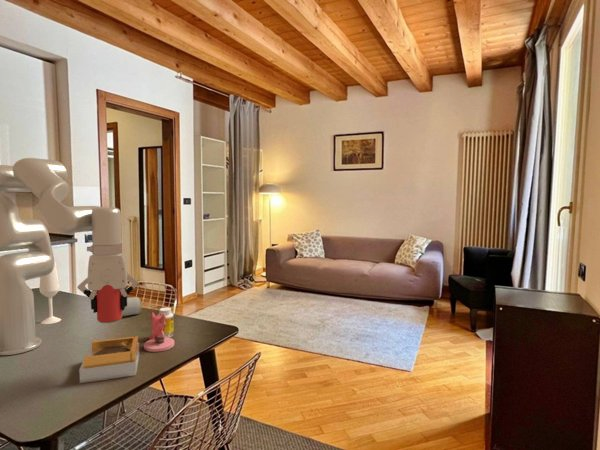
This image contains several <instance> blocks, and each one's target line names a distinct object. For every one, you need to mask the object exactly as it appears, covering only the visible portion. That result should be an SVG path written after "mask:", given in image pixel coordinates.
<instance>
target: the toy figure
mask: <svg viewBox="0 0 600 450" xmlns="http://www.w3.org/2000/svg"><path fill="white" fill-rule="evenodd" d="M158 314H159V313H158ZM161 315H162V314H159V316H157V315H156V314H155V313H154V311H153V310H152V311H151V314H150V321H151V326H152V327H151V333H152V335H149V336H148V338H149V340H147V341H146V342H144V344H143V349H144V350H145V351H146V352H150V353H151V352H152V353H157V352H158V353H159V352H164V351H168V350H171V349H172V348H173V347H174V346H175V340H174V339H173V338H172V337H170V338H168V337H166V336H164V332H163V331H164V329H165V323H166V322H165V318H166V317H165V315H164V313H163V315H162V316H161ZM162 328H163V331H162Z"/></svg>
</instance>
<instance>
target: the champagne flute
mask: <svg viewBox="0 0 600 450" xmlns="http://www.w3.org/2000/svg"><path fill="white" fill-rule="evenodd" d="M60 286H61V285H60V280H59V274H58V267H57V262H56V260H54V269H53V271H52V272H51V273H50V274H49V275H46V276H43V277H39V292H40V294H41V295H43V296H44V297H46V298H48V317H46V318H45V319H43V320H42V321H41V322H40V324H42V325H50V324H56V323H59V322H61V321H62V318H59V317H57V316H54V313H53V310H54V309H53V297H54V296H56V295H57V294H58V292H59V291H60V289H61V287H60Z"/></svg>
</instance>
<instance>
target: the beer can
mask: <svg viewBox="0 0 600 450" xmlns="http://www.w3.org/2000/svg"><path fill="white" fill-rule="evenodd" d="M106 283H107V282H106ZM108 283H109V282H108ZM121 297H122V293H121V292H120V289H114V288H113V287H112V286H110V285H105V286H103V287H102V289H101V290H99V291H97V293H96V299H97V312H96V319H97V322H99V323H101V324H109V323H114V322H118V321H120V320H121V319H122V318H123V317H122V310H121Z"/></svg>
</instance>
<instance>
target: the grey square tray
mask: <svg viewBox="0 0 600 450" xmlns="http://www.w3.org/2000/svg"><path fill="white" fill-rule="evenodd" d="M139 358H140V342H139V335H136V336H126V337H117V338H110V339H109V338H108V339H100V340H99V339H98V340H92V341H91V347H90V348H89V349H88V351H87V352H86V355H85V356H84V357H83V360H82V363H81V365H80V367H79V369H78V370H79V372H78V373H79V384H87V383H92V382H93V383H94V382H98V381H99V382H100V381H107V380H113V379H120V378H127V377H133V376H137V372H138V365H139Z"/></svg>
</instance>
